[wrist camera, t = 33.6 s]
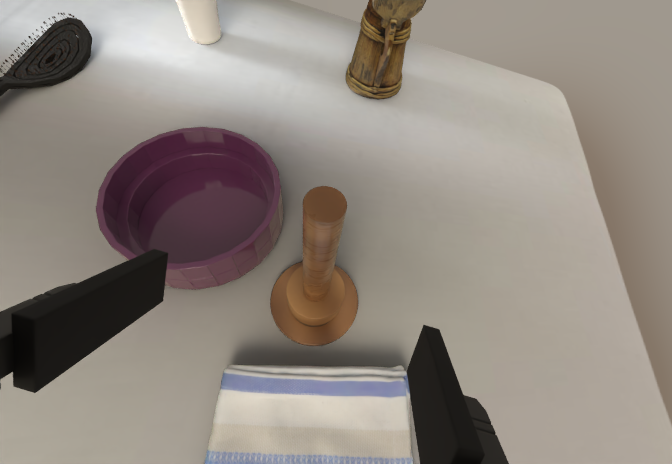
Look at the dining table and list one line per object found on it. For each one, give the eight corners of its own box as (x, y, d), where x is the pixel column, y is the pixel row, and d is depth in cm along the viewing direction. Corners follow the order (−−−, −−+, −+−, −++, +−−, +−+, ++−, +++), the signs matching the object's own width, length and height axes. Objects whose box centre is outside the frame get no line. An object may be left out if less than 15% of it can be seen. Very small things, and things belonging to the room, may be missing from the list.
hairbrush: (-111, 119, 37) (47, 4, 48) (-76, 142, 40) (64, 29, 51) (-48, 141, 36) (97, 19, 47) (-18, 162, 39) (111, 44, 50)
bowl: (145, 320, 31) (114, 301, 26) (113, 188, 38) (83, 153, 33) (306, 253, 36) (307, 226, 31) (253, 147, 43) (246, 111, 38)
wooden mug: (342, 116, 48) (361, -28, 32) (347, 61, 54) (365, -81, 39) (401, 123, 48) (449, -15, 33) (399, 67, 55) (437, -70, 39)
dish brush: (301, 338, 31) (300, 264, 16) (279, 290, 33) (259, 182, 18) (349, 314, 33) (393, 224, 17) (326, 269, 35) (345, 154, 19)
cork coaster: (292, 363, 31) (292, 362, 30) (258, 281, 34) (257, 279, 34) (372, 321, 33) (373, 319, 33) (333, 250, 37) (333, 247, 36)
